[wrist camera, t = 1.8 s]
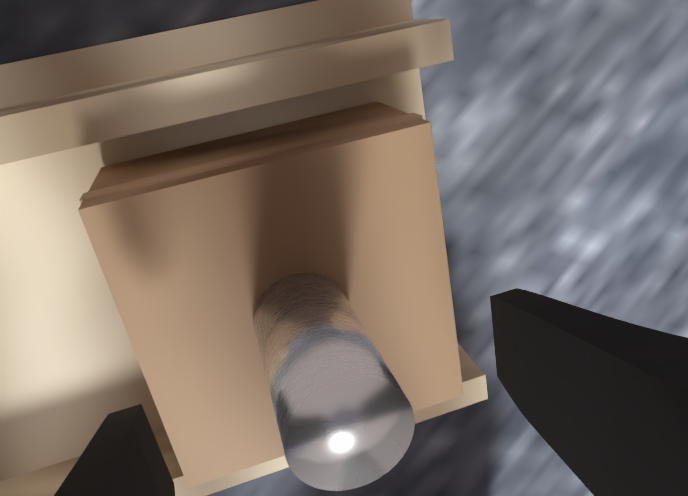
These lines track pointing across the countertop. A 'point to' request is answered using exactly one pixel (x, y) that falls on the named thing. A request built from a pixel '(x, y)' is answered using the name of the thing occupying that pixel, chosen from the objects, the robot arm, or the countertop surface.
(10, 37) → the countertop surface
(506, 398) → the countertop surface
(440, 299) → the block with knob
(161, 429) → the bay
